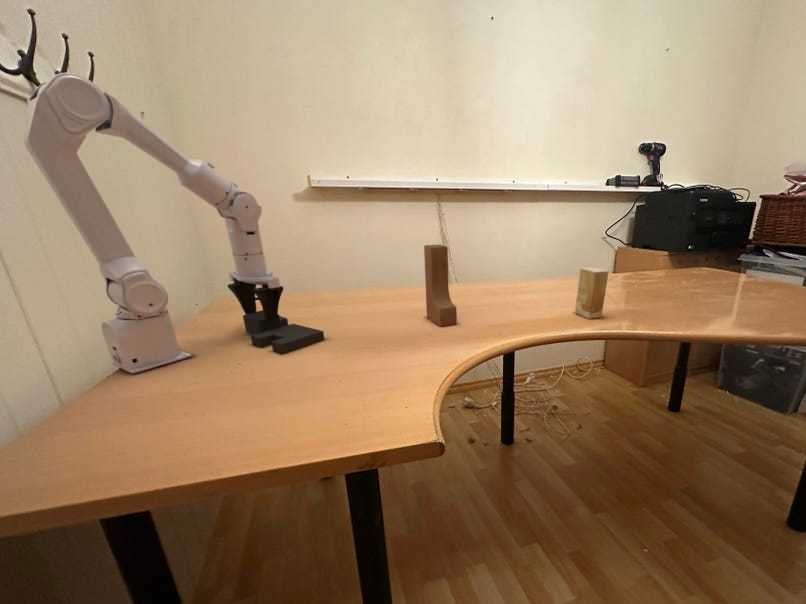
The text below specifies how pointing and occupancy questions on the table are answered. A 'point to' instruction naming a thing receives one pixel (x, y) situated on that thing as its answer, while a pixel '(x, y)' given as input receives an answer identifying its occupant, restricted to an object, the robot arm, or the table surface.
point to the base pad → (288, 338)
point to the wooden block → (438, 286)
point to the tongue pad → (262, 322)
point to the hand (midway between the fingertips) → (261, 316)
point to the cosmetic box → (591, 292)
